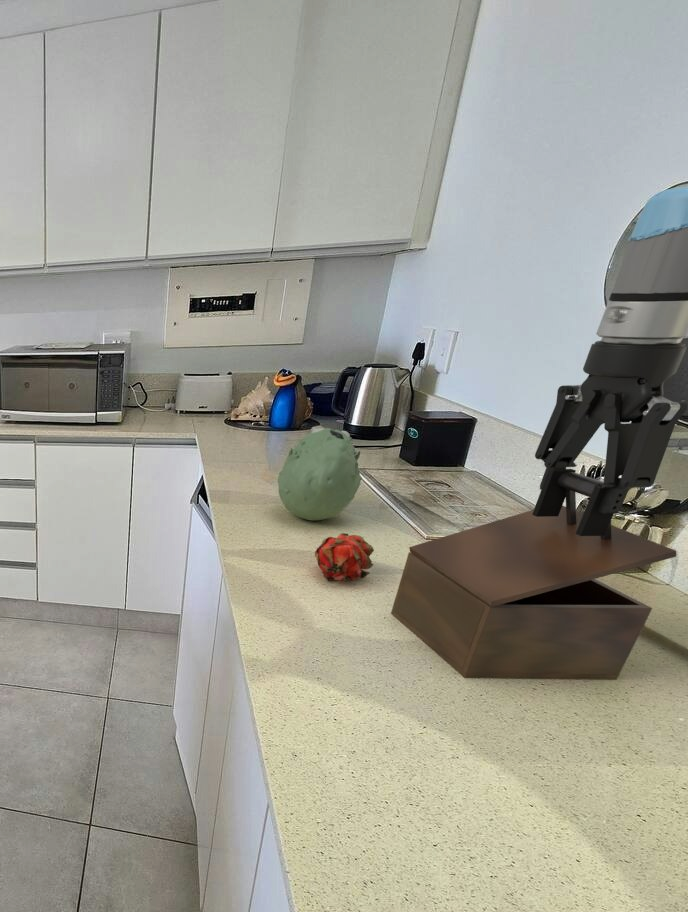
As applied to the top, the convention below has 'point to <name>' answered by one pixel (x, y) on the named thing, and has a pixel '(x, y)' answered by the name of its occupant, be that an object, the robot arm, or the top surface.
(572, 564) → the bin lid
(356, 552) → the dragon fruit
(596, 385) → the robot arm
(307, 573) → the top surface
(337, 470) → the green bumpy ovoid
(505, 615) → the bread bin
